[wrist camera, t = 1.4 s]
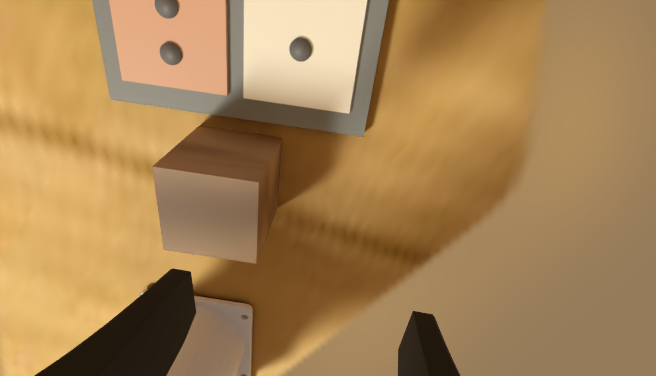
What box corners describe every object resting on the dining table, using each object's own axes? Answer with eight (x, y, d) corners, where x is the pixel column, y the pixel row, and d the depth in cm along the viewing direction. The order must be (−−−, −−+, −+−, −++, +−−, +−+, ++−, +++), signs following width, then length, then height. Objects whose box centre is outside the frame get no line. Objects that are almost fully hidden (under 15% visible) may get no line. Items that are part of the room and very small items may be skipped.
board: (363, 132, 19) (363, 139, 18) (117, 96, 19) (106, 101, 18) (394, -37, 15) (396, -38, 14) (87, -81, 15) (71, -84, 14)
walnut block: (277, 207, 21) (256, 263, 17) (203, 196, 22) (163, 249, 17) (282, 137, 19) (258, 182, 15) (199, 125, 19) (152, 166, 15)
